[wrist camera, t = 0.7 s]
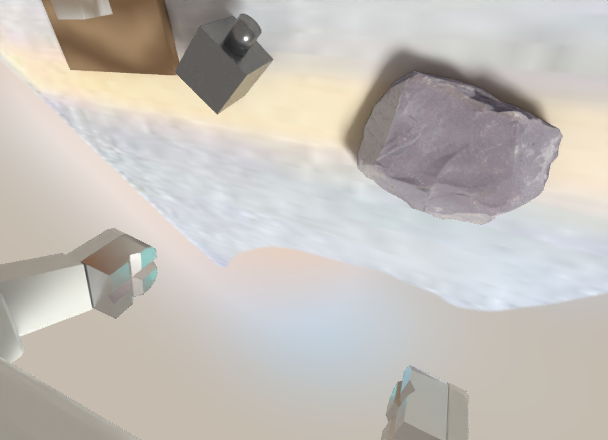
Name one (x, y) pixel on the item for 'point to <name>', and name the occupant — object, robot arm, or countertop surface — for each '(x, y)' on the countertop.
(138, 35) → the brown square plate
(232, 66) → the grey block with cylinder
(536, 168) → the stone
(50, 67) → the countertop surface
